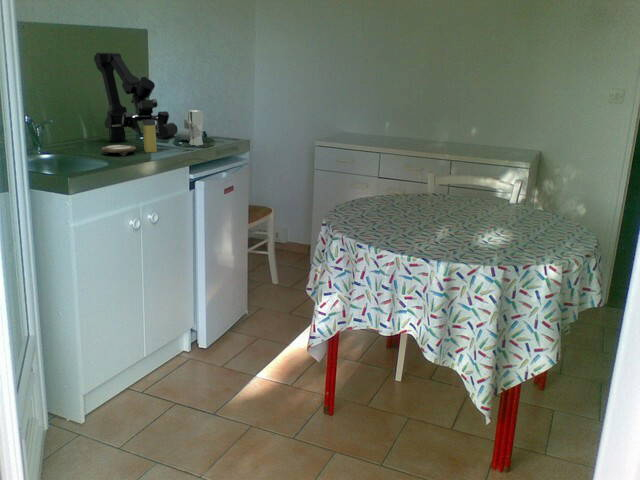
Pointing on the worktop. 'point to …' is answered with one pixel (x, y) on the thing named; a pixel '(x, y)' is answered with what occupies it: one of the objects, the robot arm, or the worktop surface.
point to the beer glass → (195, 126)
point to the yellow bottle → (149, 135)
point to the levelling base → (118, 149)
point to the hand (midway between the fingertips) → (150, 134)
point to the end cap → (167, 131)
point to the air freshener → (185, 131)
